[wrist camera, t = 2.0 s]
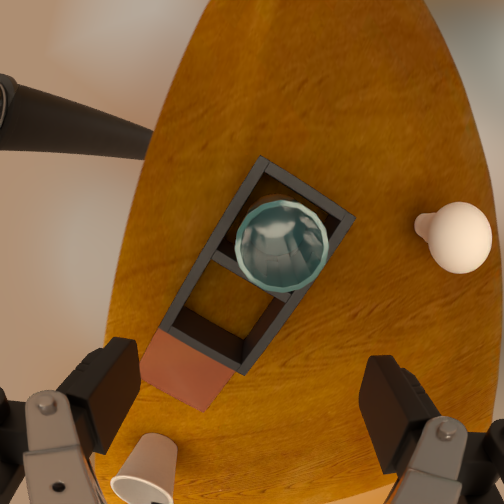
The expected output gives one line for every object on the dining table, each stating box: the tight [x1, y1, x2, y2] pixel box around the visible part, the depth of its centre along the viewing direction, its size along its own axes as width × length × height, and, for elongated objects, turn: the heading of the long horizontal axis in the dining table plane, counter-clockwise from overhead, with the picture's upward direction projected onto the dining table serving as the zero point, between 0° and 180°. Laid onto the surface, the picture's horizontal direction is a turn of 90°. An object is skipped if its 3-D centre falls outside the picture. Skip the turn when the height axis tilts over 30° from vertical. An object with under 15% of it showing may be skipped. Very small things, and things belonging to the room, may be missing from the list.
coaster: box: [139, 327, 235, 412], centre depth 36 cm, size 10×10×1 cm
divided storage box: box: [159, 155, 356, 376], centre depth 30 cm, size 10×18×5 cm, turn 148°
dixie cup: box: [111, 433, 178, 504], centre depth 35 cm, size 8×8×10 cm
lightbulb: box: [414, 202, 492, 274], centre depth 26 cm, size 6×6×11 cm
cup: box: [235, 193, 329, 293], centre depth 27 cm, size 6×6×10 cm
